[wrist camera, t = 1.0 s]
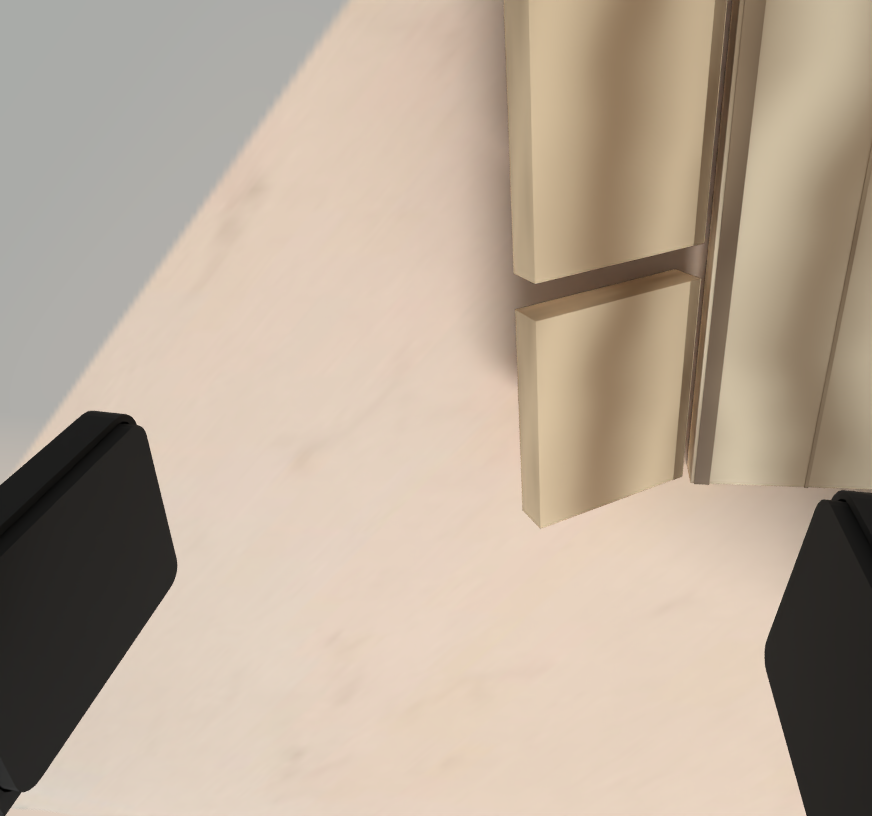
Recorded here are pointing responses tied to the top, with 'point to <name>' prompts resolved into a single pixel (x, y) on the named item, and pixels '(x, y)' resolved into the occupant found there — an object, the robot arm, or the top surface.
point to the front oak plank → (609, 129)
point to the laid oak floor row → (789, 254)
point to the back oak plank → (604, 393)
